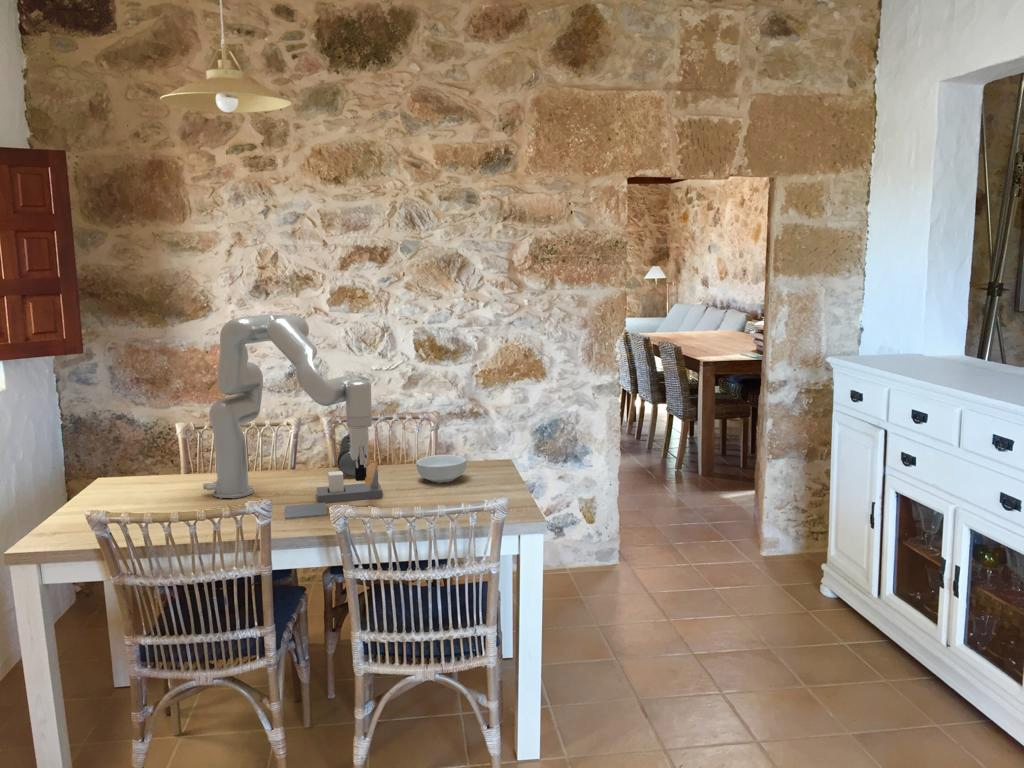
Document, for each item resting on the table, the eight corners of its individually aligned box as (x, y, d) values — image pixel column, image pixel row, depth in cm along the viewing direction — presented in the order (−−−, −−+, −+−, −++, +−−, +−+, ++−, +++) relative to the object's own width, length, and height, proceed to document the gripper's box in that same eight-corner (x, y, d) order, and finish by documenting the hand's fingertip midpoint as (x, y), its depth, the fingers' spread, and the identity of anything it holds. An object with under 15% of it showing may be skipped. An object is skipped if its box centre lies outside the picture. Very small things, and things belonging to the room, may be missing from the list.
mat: (285, 519, 250) (285, 517, 249) (285, 507, 261) (285, 506, 261) (327, 515, 253) (327, 513, 253) (325, 503, 264) (324, 502, 264)
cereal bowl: (456, 471, 301) (456, 452, 300) (474, 482, 286) (473, 462, 285) (410, 477, 294) (409, 457, 293) (426, 489, 279) (425, 468, 278)
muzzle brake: (365, 459, 321) (364, 432, 319) (366, 478, 293) (364, 449, 292) (340, 460, 319) (338, 433, 318) (337, 480, 292) (336, 450, 290)
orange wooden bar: (372, 484, 254) (372, 477, 254) (363, 484, 254) (363, 478, 254) (377, 467, 274) (377, 461, 274) (369, 467, 274) (369, 461, 273)
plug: (330, 500, 268) (329, 475, 267) (329, 496, 272) (328, 472, 271) (344, 498, 269) (343, 474, 268) (343, 495, 274) (342, 471, 272)
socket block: (318, 503, 265) (317, 478, 263) (316, 494, 274) (315, 470, 273) (382, 497, 270) (381, 472, 268) (379, 489, 279) (378, 465, 278)
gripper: (344, 416, 261) (346, 474, 264) (348, 426, 247) (350, 487, 250) (369, 415, 263) (370, 472, 266) (374, 425, 249) (376, 485, 252)
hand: (360, 479), depth 258 cm, fingers closed
